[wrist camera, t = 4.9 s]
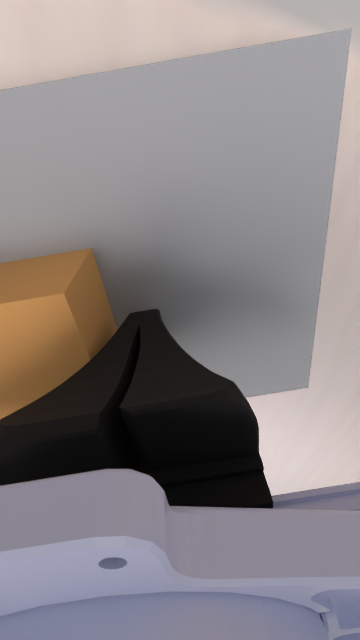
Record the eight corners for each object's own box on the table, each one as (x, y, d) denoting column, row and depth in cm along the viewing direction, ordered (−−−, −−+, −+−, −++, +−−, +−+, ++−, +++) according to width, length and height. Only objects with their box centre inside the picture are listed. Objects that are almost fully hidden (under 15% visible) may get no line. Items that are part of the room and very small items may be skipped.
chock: (91, 248, 11) (63, 293, 8) (133, 380, 15) (126, 450, 11) (-36, 269, 11) (-119, 323, 8) (37, 395, 15) (2, 470, 11)
